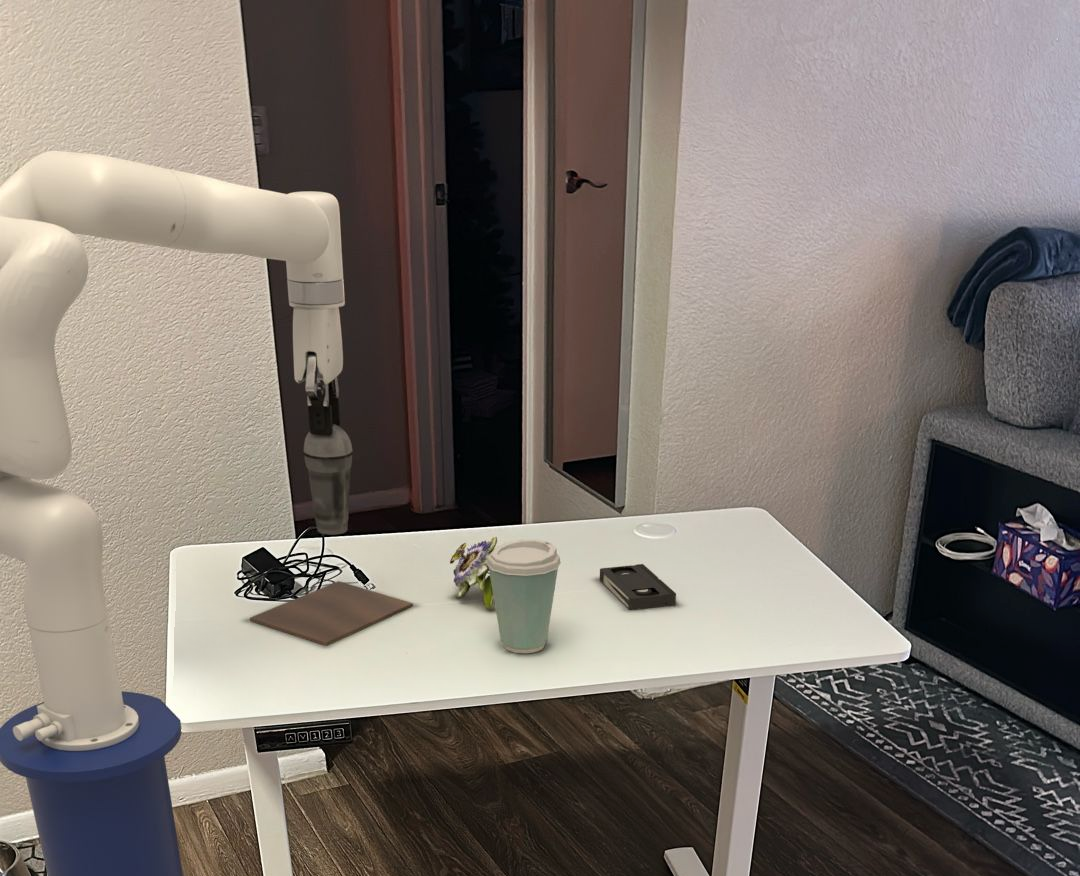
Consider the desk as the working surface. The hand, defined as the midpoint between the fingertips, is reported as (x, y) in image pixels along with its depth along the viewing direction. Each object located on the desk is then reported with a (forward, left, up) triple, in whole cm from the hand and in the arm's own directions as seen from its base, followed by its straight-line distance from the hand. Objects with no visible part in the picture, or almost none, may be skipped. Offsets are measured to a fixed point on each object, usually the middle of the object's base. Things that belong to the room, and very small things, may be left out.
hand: (325, 428), depth 183 cm
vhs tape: (+38, -31, -29) cm, 57 cm away
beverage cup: (0, 0, -15) cm, 15 cm away
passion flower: (+21, -13, -29) cm, 38 cm away
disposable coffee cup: (+9, -29, -29) cm, 42 cm away
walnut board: (+1, +2, -29) cm, 29 cm away
